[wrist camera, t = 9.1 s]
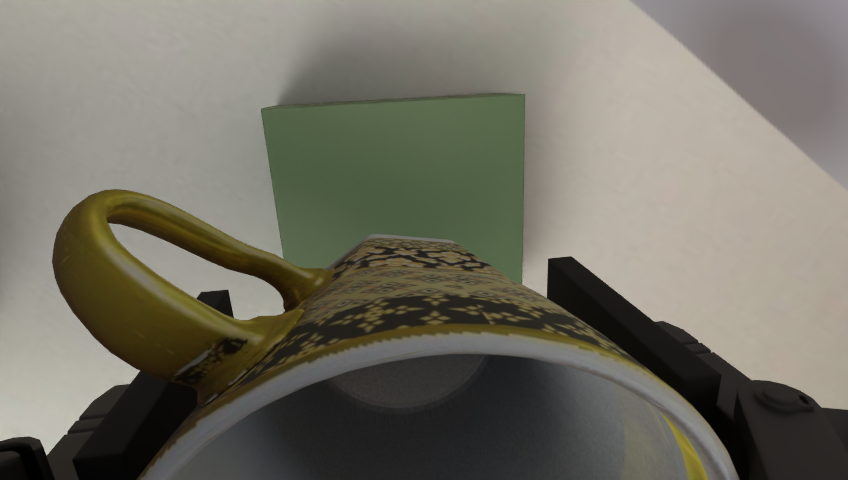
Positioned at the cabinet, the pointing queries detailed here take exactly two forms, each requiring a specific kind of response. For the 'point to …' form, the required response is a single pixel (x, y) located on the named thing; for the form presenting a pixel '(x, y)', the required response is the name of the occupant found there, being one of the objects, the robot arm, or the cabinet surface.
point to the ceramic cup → (375, 365)
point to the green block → (400, 175)
